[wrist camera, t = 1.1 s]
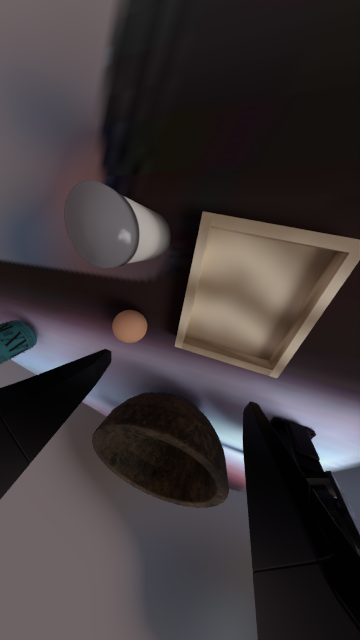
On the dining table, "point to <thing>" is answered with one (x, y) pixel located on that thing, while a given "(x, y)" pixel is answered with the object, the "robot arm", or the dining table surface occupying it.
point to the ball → (129, 326)
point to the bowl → (164, 450)
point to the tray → (259, 290)
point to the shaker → (113, 226)
